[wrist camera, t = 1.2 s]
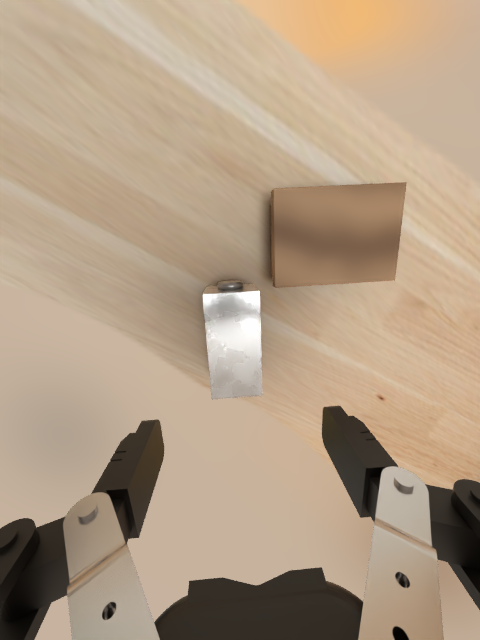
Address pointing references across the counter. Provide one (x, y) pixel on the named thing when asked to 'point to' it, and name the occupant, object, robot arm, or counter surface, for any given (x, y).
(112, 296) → the counter surface
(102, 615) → the robot arm
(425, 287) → the counter surface
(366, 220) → the stand
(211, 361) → the block
